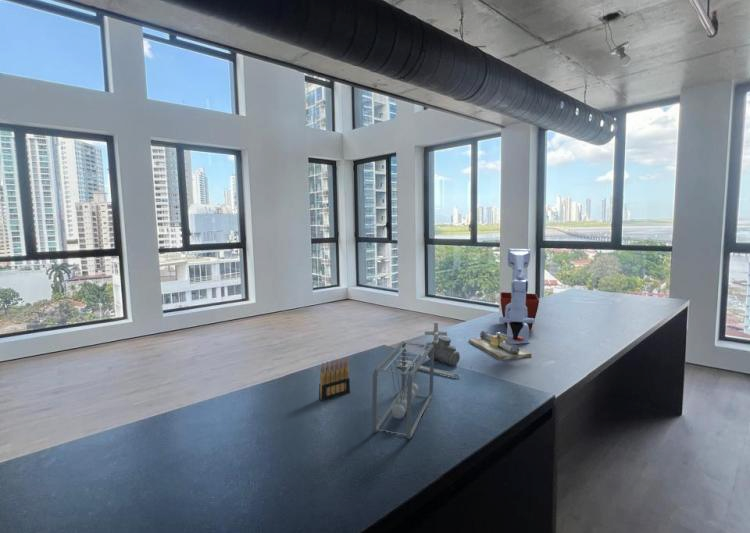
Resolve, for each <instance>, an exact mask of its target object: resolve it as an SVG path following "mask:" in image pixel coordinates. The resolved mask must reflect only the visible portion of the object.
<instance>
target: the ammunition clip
mask: <svg viewBox="0 0 750 533" xmlns="http://www.w3.org/2000/svg"><path fill="white" fill-rule="evenodd" d="M349 375H350V370H349V361H348V357H346V356H345V359H344V360H343V358H340V361H339V360H338V359H336V360H335V364H334V361H333V360H332V359H331V361H330V362H329V361H326V364H324V362H322V363H321V366H320V376H319V377H320V378H319V379H320V380H319V388H318V399H319V401H321V402H324V401H327V400H331V399H335V398H338V397H341V396H343V395H348V394H350V393H351V387H350V382H351V381H350V376H349Z"/></svg>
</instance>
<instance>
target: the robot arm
mask: <svg viewBox="0 0 750 533" xmlns="http://www.w3.org/2000/svg"><path fill="white" fill-rule="evenodd" d="M530 261H531V249H530V248H528V249H527V248H510V247H509V248H508V250H507V264H508V265H507V266H508V267H510V268H511V270H512V276H511V283H510V293H511V297H512V298H511V303H509V304H508V305H506V310H505V317H503V316H502V317H501V316H500V317H499V319H498V322H499V323H501V324H502V323H504V322H506V323H508V324H507V328H506V329H507V330H506V334H507V335H511V336H513V339H514V340H512V338H508V337H506V338H507V342H509V343H511V344H513V345H518V344H530V341H529V339H530V329H529V327H528V325H527V324H526V323H532V324H533V325H534V324H535V323H536V318H535V319H533V318H527V307H526V306H525V303H526V294H528V291H529V290H528V289H529V281H528V278H527V270H526V268H528V267H529V265H530ZM510 308H511V309H510ZM518 336H519V337H523V338H524V341H522V342H519V341H516V340H517V337H518Z"/></svg>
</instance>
